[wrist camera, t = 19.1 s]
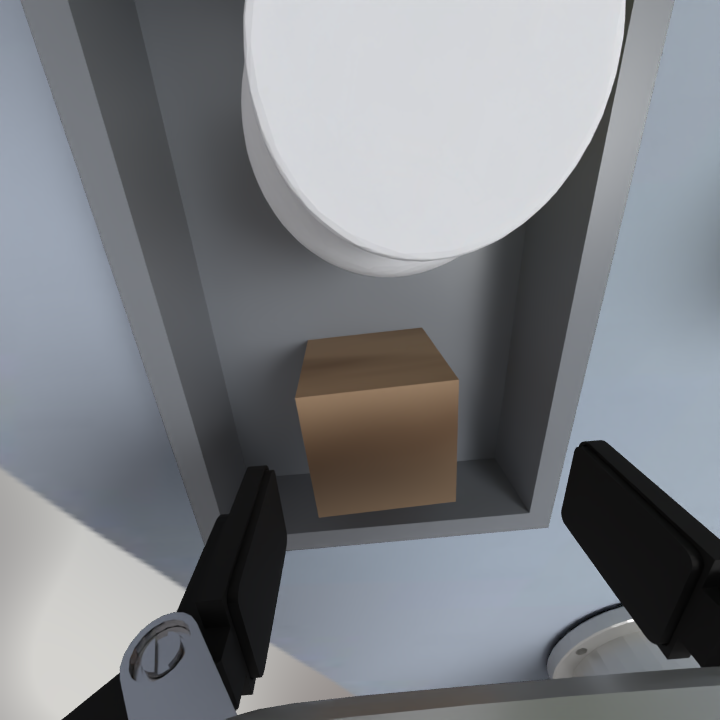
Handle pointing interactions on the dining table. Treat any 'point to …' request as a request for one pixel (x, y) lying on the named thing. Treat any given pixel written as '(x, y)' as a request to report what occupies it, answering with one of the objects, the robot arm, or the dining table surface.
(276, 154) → the supplement bottle
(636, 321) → the dining table surface
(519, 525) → the tote
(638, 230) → the dining table surface
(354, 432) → the walnut cube
